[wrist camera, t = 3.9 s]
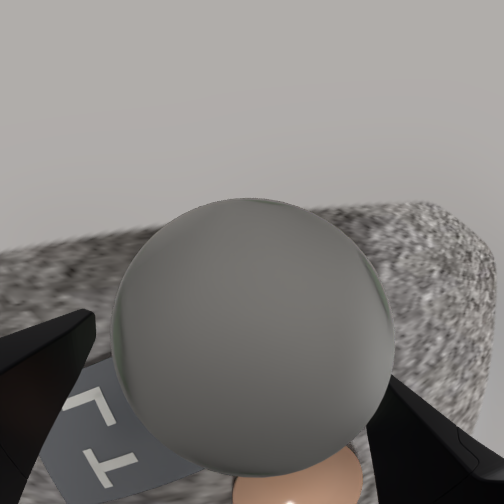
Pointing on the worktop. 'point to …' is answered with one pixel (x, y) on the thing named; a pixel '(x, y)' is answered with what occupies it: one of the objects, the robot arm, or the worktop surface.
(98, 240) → the worktop surface
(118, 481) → the tile
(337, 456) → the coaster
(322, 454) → the green tumbler
